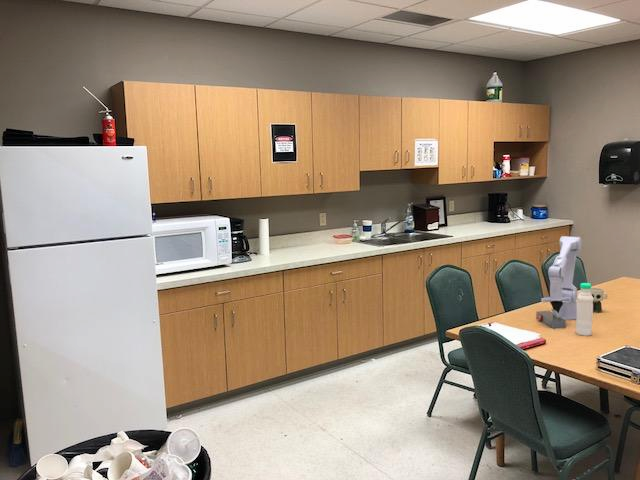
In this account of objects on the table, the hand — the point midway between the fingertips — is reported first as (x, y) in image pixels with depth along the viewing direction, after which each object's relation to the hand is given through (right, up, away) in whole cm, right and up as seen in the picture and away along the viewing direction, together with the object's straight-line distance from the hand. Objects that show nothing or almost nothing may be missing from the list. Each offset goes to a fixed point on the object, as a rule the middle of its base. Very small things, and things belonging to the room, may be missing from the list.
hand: (555, 315), depth 265 cm
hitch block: (-1, -5, +5) cm, 7 cm away
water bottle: (+7, -7, -14) cm, 17 cm away
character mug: (+33, -2, +24) cm, 41 cm away
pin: (0, -4, +9) cm, 10 cm away
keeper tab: (+1, -1, 0) cm, 1 cm away
